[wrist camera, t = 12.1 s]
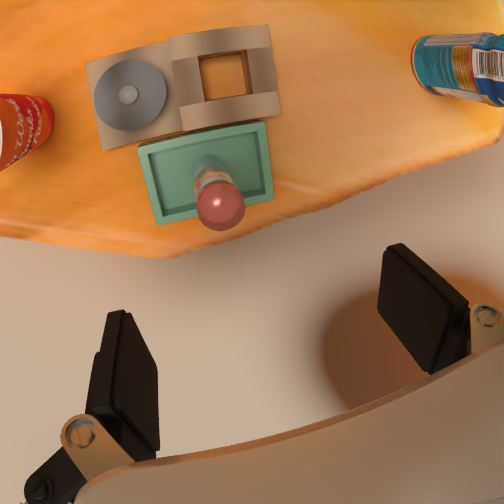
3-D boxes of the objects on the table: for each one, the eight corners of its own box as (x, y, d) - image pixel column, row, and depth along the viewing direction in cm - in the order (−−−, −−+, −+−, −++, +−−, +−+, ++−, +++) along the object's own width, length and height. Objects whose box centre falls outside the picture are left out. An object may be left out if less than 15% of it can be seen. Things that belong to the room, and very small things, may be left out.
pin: (220, 151, 30) (241, 180, 20) (225, 181, 32) (248, 225, 22) (188, 158, 30) (192, 191, 20) (194, 188, 32) (202, 235, 22)
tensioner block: (260, 30, 26) (272, 21, 22) (272, 113, 30) (286, 115, 26) (89, 65, 24) (75, 61, 20) (106, 148, 28) (95, 156, 24)
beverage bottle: (426, 22, 27) (558, 21, 10) (460, 68, 31) (582, 90, 14) (398, 62, 30) (543, 74, 12) (436, 108, 33) (566, 145, 16)
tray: (258, 119, 30) (264, 121, 28) (268, 192, 34) (274, 199, 32) (140, 144, 29) (137, 147, 27) (158, 216, 33) (157, 226, 30)
